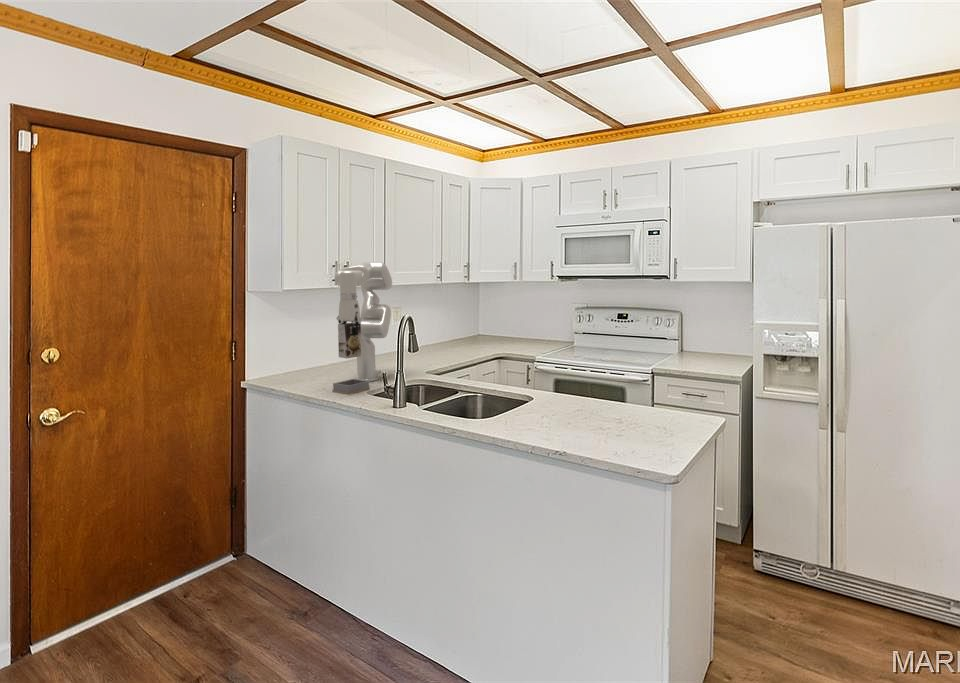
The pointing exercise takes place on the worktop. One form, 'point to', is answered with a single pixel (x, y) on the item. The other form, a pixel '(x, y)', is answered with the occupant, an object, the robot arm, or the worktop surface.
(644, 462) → the worktop surface
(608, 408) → the worktop surface
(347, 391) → the dock
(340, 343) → the coffee box
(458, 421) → the worktop surface
